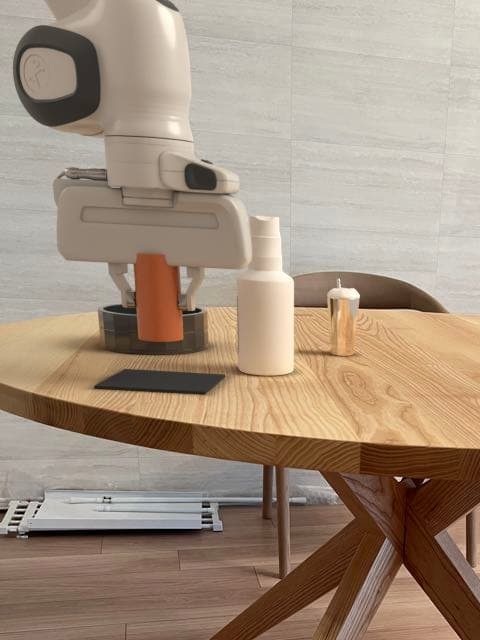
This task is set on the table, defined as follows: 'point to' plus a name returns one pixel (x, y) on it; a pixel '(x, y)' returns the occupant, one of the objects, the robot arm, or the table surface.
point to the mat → (161, 381)
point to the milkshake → (342, 319)
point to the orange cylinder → (157, 299)
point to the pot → (123, 337)
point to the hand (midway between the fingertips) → (159, 308)
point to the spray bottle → (265, 305)
